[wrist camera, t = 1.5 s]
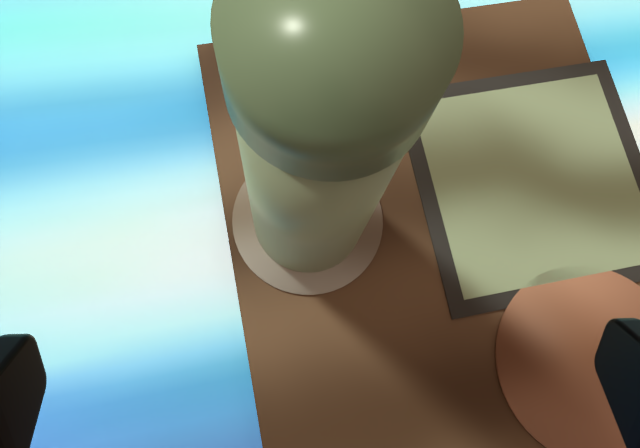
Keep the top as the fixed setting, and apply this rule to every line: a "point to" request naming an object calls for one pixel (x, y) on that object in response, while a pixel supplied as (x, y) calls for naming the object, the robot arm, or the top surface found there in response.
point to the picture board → (459, 262)
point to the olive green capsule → (328, 109)
